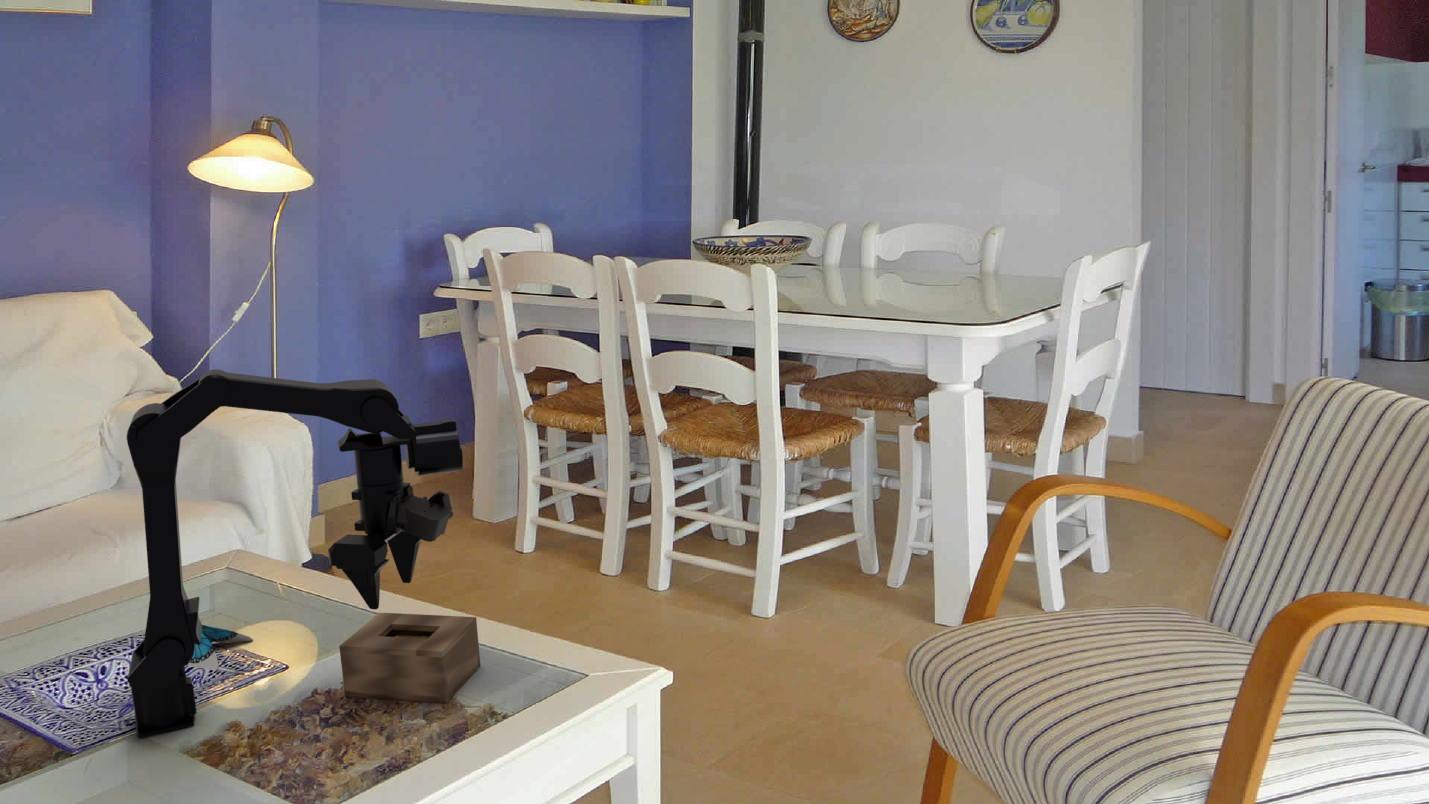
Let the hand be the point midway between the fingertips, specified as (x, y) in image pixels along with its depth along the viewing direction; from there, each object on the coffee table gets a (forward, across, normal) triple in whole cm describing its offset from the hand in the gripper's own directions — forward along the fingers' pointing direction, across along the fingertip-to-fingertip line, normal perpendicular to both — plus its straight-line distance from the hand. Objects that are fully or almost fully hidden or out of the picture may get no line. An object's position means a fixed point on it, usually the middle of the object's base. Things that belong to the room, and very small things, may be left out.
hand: (391, 595), depth 163 cm
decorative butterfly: (+13, +4, +32) cm, 35 cm away
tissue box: (+12, 0, -2) cm, 12 cm away
